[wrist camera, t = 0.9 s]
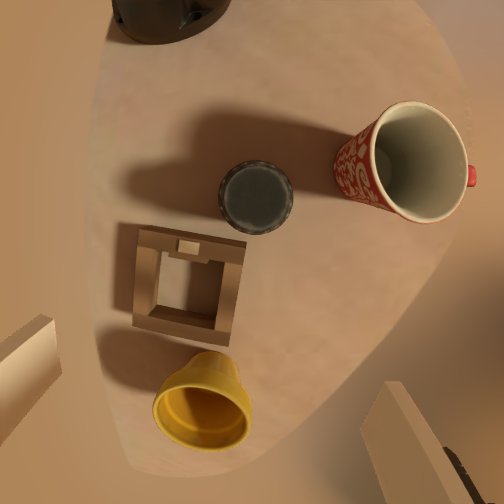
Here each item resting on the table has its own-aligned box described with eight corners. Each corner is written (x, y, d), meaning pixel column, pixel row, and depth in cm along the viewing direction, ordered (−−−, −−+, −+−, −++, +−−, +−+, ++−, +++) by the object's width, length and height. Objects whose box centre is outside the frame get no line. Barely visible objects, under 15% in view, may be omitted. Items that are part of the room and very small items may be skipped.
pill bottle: (243, 235, 32) (237, 256, 21) (216, 185, 31) (196, 181, 20) (293, 208, 32) (314, 216, 21) (267, 158, 31) (274, 140, 20)
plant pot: (167, 390, 36) (148, 438, 27) (178, 327, 34) (155, 371, 25) (241, 408, 37) (238, 460, 27) (261, 349, 35) (264, 398, 25)
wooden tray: (150, 225, 32) (138, 229, 28) (246, 242, 32) (245, 248, 29) (142, 314, 34) (131, 327, 30) (230, 332, 34) (227, 348, 31)
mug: (320, 206, 32) (365, 216, 18) (326, 126, 30) (371, 87, 17) (418, 219, 32) (492, 235, 18) (422, 146, 30) (496, 131, 17)
